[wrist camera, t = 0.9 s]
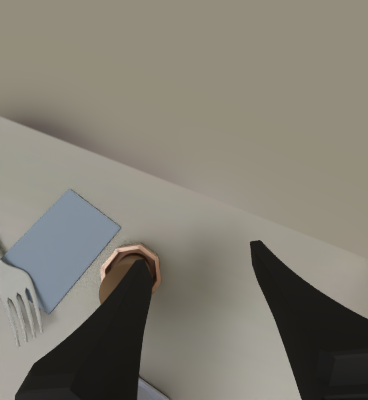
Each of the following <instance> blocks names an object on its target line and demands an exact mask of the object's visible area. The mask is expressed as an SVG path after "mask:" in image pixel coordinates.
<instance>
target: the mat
mask: <svg viewBox="0 0 368 400" xmlns="http://www.w3.org/2000/svg"><path fill="white" fill-rule="evenodd" d="M120 228H121V227H120V226H118V225H117V224H116V223H114V222H113V221H112V220H110V219H109V218H108V217H106V216H105V215H104V214H102V213H101V212H100V211H98V210H97V209H96V208H94V207H93V206H92V205H91V204H89V203H88V202H87V201H85V200H84V199H83V198H81V197H80V196H79V195H77V194H76V193H75V192H73V191H72V190H71V189H68V190H67V191H66V192H65V193H64V194H63V195H62V197H61V198H60V199H59V200H58V201H57V202H56V203H55V204H54V205H53V206H52V207H51V208H50V209H49V210H48V211H47V212H46V213H45V214H44V215H43V216H42V217H41V218H40V219H39V220H38V221H37V222H36V223H35V224H34V225H33V226H32V227H31V228H30V229H29V230H28V231H27V232H26V233H25V234H24V236H23V237H22V238H21V239H20V240H19V241H18V242H17V243H16V244H15V245H14V246H13V247H12V248H11V249H10V250H9V251H8V252H7V253H6V254H5V255H4V256H3V257H2V258H1V260H2V261H3V262H4V263H6V264H7V265H10V266H12V267H16V268H18V269H21V270H23V271H25V272H26V273H27V274H28V275H29V277H30V278H31V281H32V283H33V287H34V290H35V294H36V297H37V302H38V306H39V308H41V309H42V310H43V311H45V312H46V313H48V314H50V313H51V311H52V310H53V309H54V308H55V307H56V305H57V304H58V303H59V302H60V301H61V299H62V298H63V297H64V296H65V295H66V293H67V292H68V291H69V290H70V289H71V287H72V286H73V285H74V284H75V283H76V281H77V280H78V279H79V278H80V277H81V275H82V274H83V273H84V272H85V271H86V269H87V268H88V267H89V266H90V264H91V263H92V262H93V261H94V260H95V258H96V257H97V256H98V255H99V254H100V252H101V251H102V250H103V249H104V248H105V246H106V245H107V244H108V243H109V242H110V240H111V239H112V238H113V237H114V236H115V234H116V233H117V232H118V231H119V230H120ZM26 294H27V298H28V300H29V301H31V302H32V303H33V300H32V296H31V294H30V291H29V289H27V288H26Z"/></svg>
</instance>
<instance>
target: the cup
mask: <svg viewBox="0 0 368 400" xmlns="http://www.w3.org/2000/svg"><path fill="white" fill-rule="evenodd" d="M129 253H140V254H142V255H144V256H145V257H146V258H147V260H148V261H149V264H150V272H151V275H152V278H153V287H152V294H153V293H154V291H155V290H156V288H157V287H158V285H159V284H160V283H161V277H160V269H159V260H158V259H159V258H158V256H157V254H155V253H154V252H153V251H151V250H150V249H149V248H147V247H146V246H145V245H143V244H142V243H137V244H131V245H124V246H120V247H118V248H116V250H115V251H114V252H113V254H112V255H111V256H110V257H109V259H108V260H107V261H106V262H105V264H104V265H103V266H102V267H101V268H100V269H101V281H103V279H104V277H105V276H106V275H107V274H108V273H109V271H110V270H111V269H112V268H113V267H114V266H115V265H116V264H117V263H118V262H119V261H120V260H121V258H122V257H124V256H125V255H127V254H129Z"/></svg>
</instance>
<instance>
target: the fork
mask: <svg viewBox="0 0 368 400" xmlns="http://www.w3.org/2000/svg"><path fill="white" fill-rule="evenodd" d="M26 288H27V289H29V291H30V294H31V296H32V300H33V304H34V308H35V312H36V316H37V320H38V324H39V328H40V332H41V334H42V333H43V327H42V320H41V315H40V310H39V306H38V302H37V297H36V294H35V290H34V287H33V283H32V281H31V278H30V277H29V275H28V274H27V273H26V272H25V271H23V270H21V269H18V268H16V267H12V266H10V265H7V264H6V263H4V262H3V261H2V260H1V259H0V298H1V300H2V303H3V305H4V307H5V309H6V312H7V314H8V318H9V321H10V324H11V327H12V330H13V333H14V337H15V341H16V344H17V347H18V348H19V347H20V343H19V337H18V331H17V328H16V324H15V321H14V318H13V314H12V311H11V308H10V305H9V302H8V298H9V299H11V300H12V302H13V304H14V306H15V308H16V311H17V315H18V318H19V322H20V325H21V328H22V332H23V336H24V340H25V343H27V342H28V339H27V333H26V327H25V323H24V319H23V316H22V312H21V308H20V304H19V301H18V298H17V293H19V294H20V295H21V297H22V300H23V302H24V305H25V309H26V312H27V316H28V320H29V323H30V327H31V331H32V335H33V338H36V334H35V328H34V322H33V318H32V314H31V310H30V306H29V302H28V298H27V294H26Z"/></svg>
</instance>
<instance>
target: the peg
mask: <svg viewBox="0 0 368 400" xmlns="http://www.w3.org/2000/svg"><path fill="white" fill-rule="evenodd" d="M139 259H144V260H145V262H146V264H147V266H148V269H149V271H150V264H149V261H148V260H147V258H146V257H145V256H144V255H142V254H140V253H129V254H127V255H125V256H124V257H122V258H121V260H120V261H119V262H118V263H117V264H116V265H115V266H114V267H113V268H112V269H111V270H110V271H109V273H108V274H107V275H106V276H105V277H104V279H103V281H102V283H101V285H100V290H99V299H100V303H101V304H102V303H103V302H104V301H105V300H106V299H107V297H108V296H109V295H110V294H111V292H112V291H113V290H114V289H115V287H116V286H117V285H118V284H119V282H120V281H121V280H122V278H123V277H124V276H125V274H126V273H127V271H128V270H129V269H130V267H131V266H132V265H133V263H134V262H135V261H136V260H139ZM150 273H151V272H150Z"/></svg>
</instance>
